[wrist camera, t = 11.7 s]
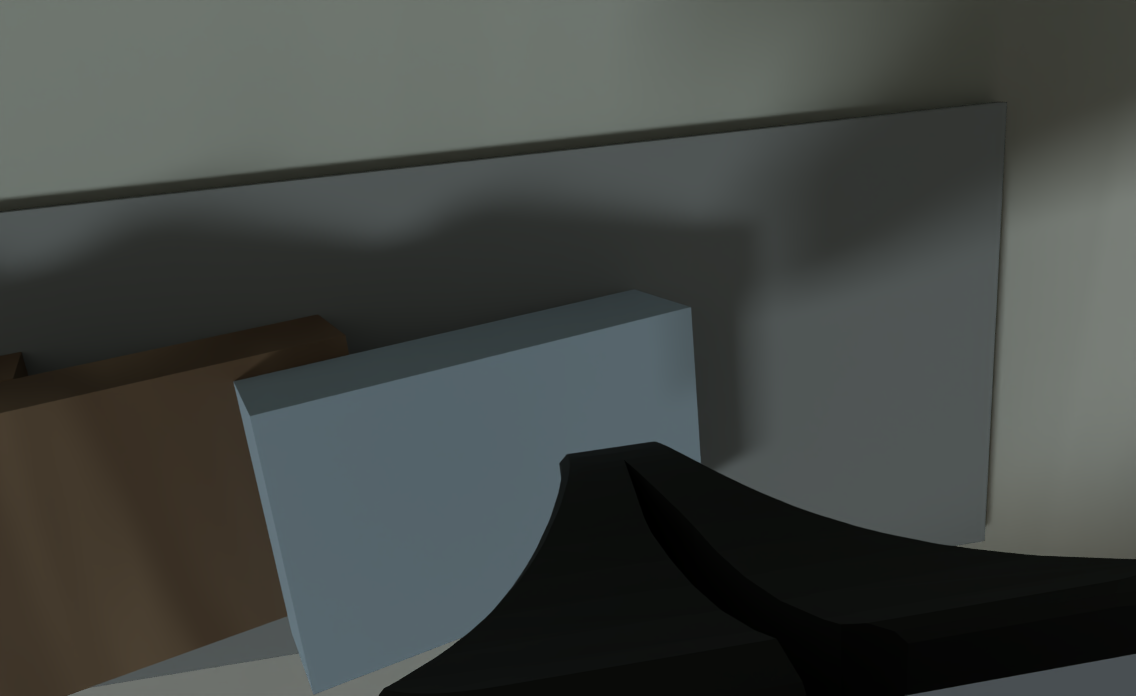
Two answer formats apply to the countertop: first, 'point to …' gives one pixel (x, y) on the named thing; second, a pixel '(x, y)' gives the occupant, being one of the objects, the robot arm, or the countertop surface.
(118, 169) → the countertop surface
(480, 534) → the tile
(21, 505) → the tile
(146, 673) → the runner mat
